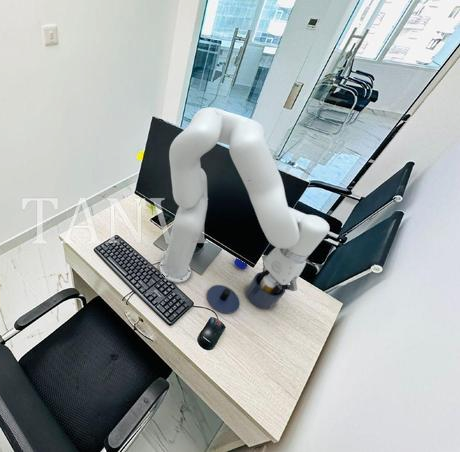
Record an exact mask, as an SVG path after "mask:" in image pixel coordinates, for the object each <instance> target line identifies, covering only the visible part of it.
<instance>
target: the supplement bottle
mask: <svg viewBox="0 0 460 452" xmlns="http://www.w3.org/2000/svg"><path fill="white" fill-rule="evenodd" d="M278 283H279V282H278V281H277V280H276V279H275V278H274V277H273V275H272V274H271V273H269V274H268V275H266V276H264V277H263V279H262V280H261V282H260V283H259V285H258V286H259V287H260V288H261V289H262V290H263V291H265V292H266V293H269V294H271V295H272V293H271V291H272V290H273V288H274V287H275V286H276V285H278Z"/></svg>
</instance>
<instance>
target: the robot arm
mask: <svg viewBox="0 0 460 452" xmlns="http://www.w3.org/2000/svg"><path fill="white" fill-rule="evenodd" d="M217 143H221V144H223V145H228V152H229V155H230V159H231V160H232V163H233V165H234V166H235V169H236V171H237V173H238V174H239V177H240V178H241V180H242V183H243V185H244V187H245V189H246V191H247V194H248V196H249V200H250V203H251V205H252V207H253V209H254V212H255V215H256V217H257V220H258V223H259V225H260V228H261V230H262V232H263V233H264V236H265V238H266V239H267V241H268V243H270V245H272V246H273V247H274V248H273V249H272V250H270V252H269V253H268V254H264V255H261V259H262V267H263V268H262V271H261V272H262V273H261V276H260V277H259V278H260V279H263V277H264V276H266V275H268V274H269V273H271V274H272V275H273V277H274V278H275V279H276V280H277V281H278V282H279V283H278V285H276V286H275V287H274V288H273V290H272V291H271V293H272V294H273V293H280V292H281V291H282V289H285V291H290V292H296V291H298V284H297V279H298V278H299V277H300V276H301V274H302V272H303V270H304V268H305V267H306V265H307V259H308V258H309V256H310V255H311V254H312V253H313V252H314V251H315V249H317V247H318V246H319V244H321V242H322V241H323V240H324V239H325V238H326V237H327V235H328V233H329V232H330V229H331V228H330V227H331V226H330V224H329V223H328V222H327V220H325V219H324V218H323V217H320V216H318V215H314V214H306V213H304V212H302V211H299V210H297V209H295V208H292V207H290V206H289V205H288V201H287V197H286V192H285V187H284V183H283V182H284V181H283V179H282V176H281V173H280V171H279V169H278V167H277V165H276V162H275V160H274V158H273V155H272V153H271V150H270V147H269V145H268V143H267V140H266V135H265V130H264V127H263V125H262V124H261V123H260V122H258V121H257V120H255V119H252V118H250V117H246V116H243V115H240V114H236V113H233V112H230V111H227V110H224V109H221V108H217V107H214V106H213V107H212V106H208V107H203V108H201V109H199V110H197V111H196V112H195V114H194V115H193V116H192V118H191V121H190V122H189V124H188V126H187V127H186V128H185V129H184V130H183V131H181V132H180V133H179V134H178V135H177V136H176V137H175V138H174V139H173V141H171V144H170V147H169V150H168V151H169V152H168V159H169V167H170V168H169V169H170V179H171V187H172V196H173V200H174V202H175V204H176V205H177V206H178V208H177V210H176V214H175V216H174V219H173V222H172V228H171V233H170V237H169V241H168V246H167V248H166V250H163V254H164V258H163V259H161V260H160V263H159V266H158V271H159V273H160V275H161V276H162V277H163V278H164V279H165V280H167V281H168V282H172V283H177V284H179V283H184V282H186V281H188V279H190V277H191V273H192V269H191V266H190V265H191V261H192V258H193V256H194V253H195V251H196V247H197V244H198V242H199V239H200V237H201V235H202V233H203V230H204V226H205V222H206V217H207V211H208V204H209V203H208V202H209V201H208V178H207V174H206V172H205V169H203V168H202V167H201V166H202V165H201V158H202V156H204V155H205V154H206V153H208V152H210V151H211V150H212V149H213V148H214V147H215V146H216V145H217ZM162 274H163V275H164V276H165V277H164V276H163V275H162Z"/></svg>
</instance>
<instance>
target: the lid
mask: <svg viewBox="0 0 460 452" xmlns="http://www.w3.org/2000/svg"><path fill="white" fill-rule="evenodd" d="M206 298H207V302H208V303H209V305H210V306H211V308H213V309H214V310H216V311H218V312H220V313H222V314H233V313H236V311H237V310H238V309H239V306H240V299H239V297H238V295H237V294H236V292H235V291H233V289H231V288H230V287H228V286H225V285H221V284H215V285H212V286H210V288H209V289H208V291H207V293H206Z"/></svg>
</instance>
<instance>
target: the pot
mask: <svg viewBox="0 0 460 452" xmlns="http://www.w3.org/2000/svg"><path fill="white" fill-rule="evenodd" d="M262 272H263V271H261V272H258V273H256V274H255V275H254V277H253V278H252V279H251V282H250V283H249V284H248V286H247V287H246V289H245V296H246V298H247V300H248V301H249V302H250V303H251V304H252V305H253V306H254V307H256V308H259V309H262V310H270V309H272V308H274V306H275V305H276V304H277V302H278V301H279V300H280V299H281V298H282V297H283V295H284V294H285V293H286V289H282V291H281V292H280V293H273V294H272V295H271V294H269V293H266V292H265V291H263V290H262V289H261V288H260V287H259V286H258V285H259V283H260V282H261V280H262V279H260V278H259V277H260V276H261V273H262Z"/></svg>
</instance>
